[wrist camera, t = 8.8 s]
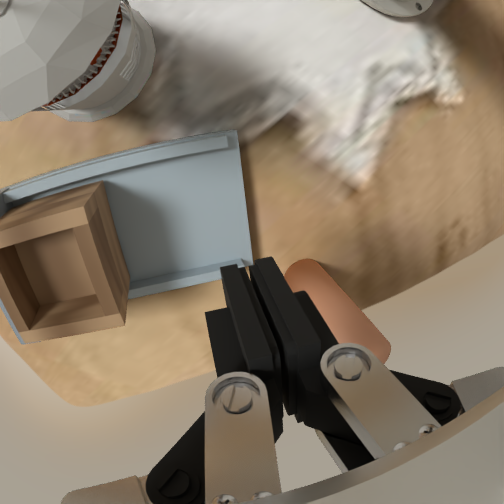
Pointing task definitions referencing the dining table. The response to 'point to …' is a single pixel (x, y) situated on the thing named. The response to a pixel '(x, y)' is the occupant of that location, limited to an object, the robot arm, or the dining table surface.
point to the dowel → (337, 308)
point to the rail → (163, 208)
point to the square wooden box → (63, 265)
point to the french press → (72, 57)
